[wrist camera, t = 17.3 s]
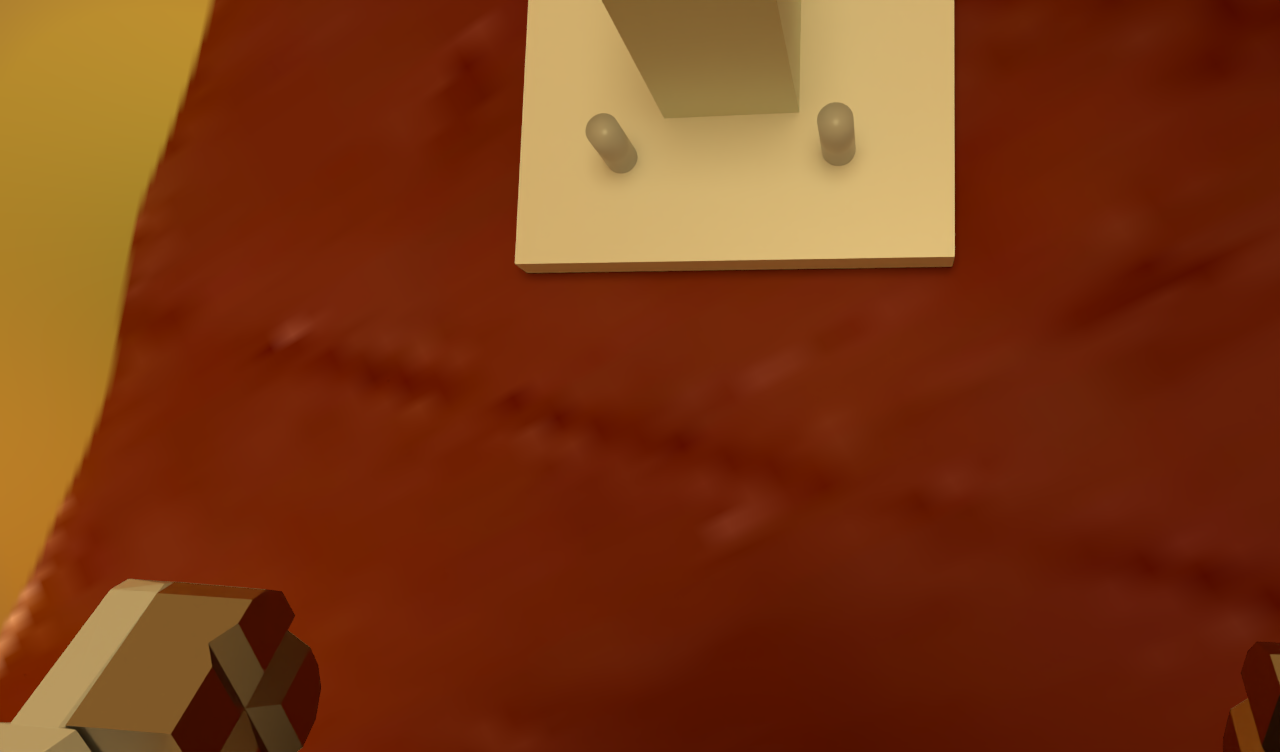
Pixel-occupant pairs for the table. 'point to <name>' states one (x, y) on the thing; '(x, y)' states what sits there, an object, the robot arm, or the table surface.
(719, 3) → the beige rectangular block
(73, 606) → the table surface
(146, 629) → the robot arm
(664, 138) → the pin plate
